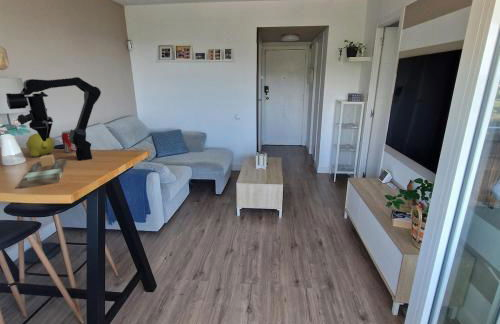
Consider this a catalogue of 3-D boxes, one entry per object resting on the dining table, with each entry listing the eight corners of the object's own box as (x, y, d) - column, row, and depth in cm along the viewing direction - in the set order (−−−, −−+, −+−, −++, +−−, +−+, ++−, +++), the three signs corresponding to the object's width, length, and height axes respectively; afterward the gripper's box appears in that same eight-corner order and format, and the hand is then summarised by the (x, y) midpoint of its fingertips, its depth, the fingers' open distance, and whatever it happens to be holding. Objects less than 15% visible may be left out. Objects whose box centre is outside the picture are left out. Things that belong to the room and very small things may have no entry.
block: (55, 162, 131) (53, 154, 130) (53, 165, 128) (51, 156, 126) (43, 164, 129) (41, 155, 128) (41, 166, 126) (39, 158, 124)
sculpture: (25, 151, 157) (30, 128, 156) (51, 156, 164) (57, 134, 164) (21, 156, 145) (27, 132, 144) (50, 161, 152) (56, 138, 151)
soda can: (68, 153, 157) (64, 133, 154) (62, 152, 161) (58, 132, 158) (81, 151, 163) (77, 131, 160) (75, 149, 167) (71, 130, 163)
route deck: (66, 163, 139) (64, 154, 138) (58, 182, 112) (55, 172, 111) (38, 166, 134) (35, 158, 133) (21, 188, 107) (18, 177, 105)
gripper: (21, 106, 132) (30, 138, 137) (10, 110, 116) (20, 145, 121) (49, 105, 137) (56, 135, 142) (41, 108, 121) (50, 142, 126)
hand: (46, 139), depth 132 cm, fingers open, 7 cm apart
